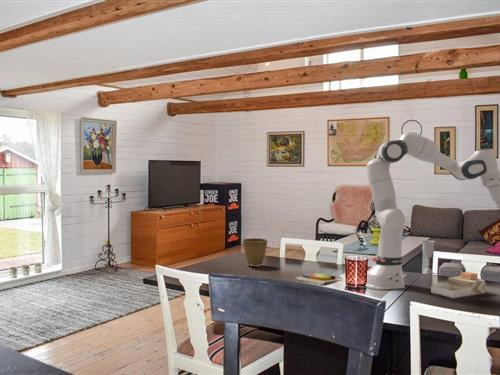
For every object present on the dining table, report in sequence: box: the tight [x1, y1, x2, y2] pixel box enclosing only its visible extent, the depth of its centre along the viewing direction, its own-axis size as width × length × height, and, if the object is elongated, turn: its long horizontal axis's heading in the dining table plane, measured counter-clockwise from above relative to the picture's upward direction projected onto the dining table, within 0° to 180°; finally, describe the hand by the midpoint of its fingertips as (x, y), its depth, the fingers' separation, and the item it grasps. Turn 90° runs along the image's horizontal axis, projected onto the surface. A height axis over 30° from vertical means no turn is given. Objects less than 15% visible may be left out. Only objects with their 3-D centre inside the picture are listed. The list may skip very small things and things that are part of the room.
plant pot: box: [242, 237, 268, 265], centre depth 285 cm, size 15×15×16 cm
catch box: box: [430, 283, 472, 300], centre depth 216 cm, size 12×12×3 cm
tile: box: [460, 271, 478, 280], centre depth 223 cm, size 5×5×2 cm
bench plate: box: [447, 275, 486, 296], centre depth 222 cm, size 10×12×6 cm
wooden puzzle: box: [295, 272, 343, 286], centre depth 246 cm, size 18×19×4 cm
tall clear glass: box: [421, 239, 436, 275], centre depth 267 cm, size 7×7×18 cm
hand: (499, 207), depth 231 cm, fingers open, 8 cm apart
